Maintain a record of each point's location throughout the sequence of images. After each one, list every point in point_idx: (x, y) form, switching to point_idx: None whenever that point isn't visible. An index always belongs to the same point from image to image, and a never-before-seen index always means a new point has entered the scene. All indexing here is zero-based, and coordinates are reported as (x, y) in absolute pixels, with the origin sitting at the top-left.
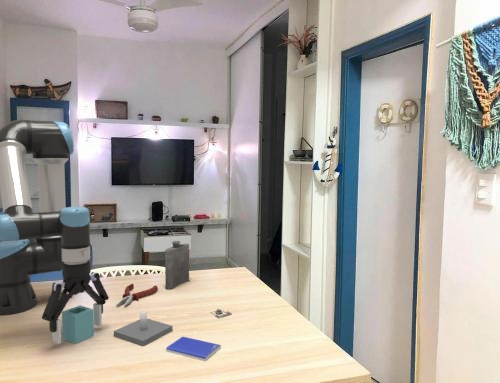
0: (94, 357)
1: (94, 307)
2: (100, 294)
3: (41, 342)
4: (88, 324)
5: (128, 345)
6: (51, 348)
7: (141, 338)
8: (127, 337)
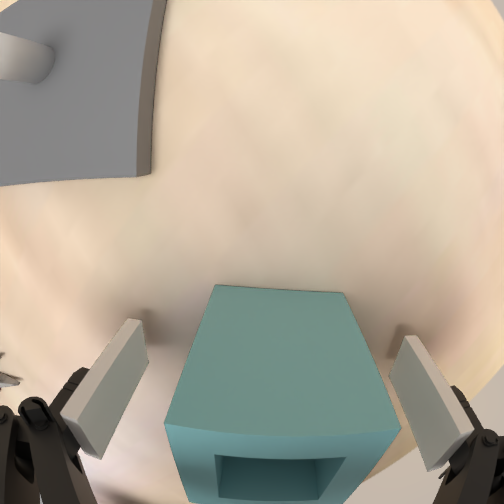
0: (411, 69)
1: (106, 434)
2: (28, 473)
3: None
4: (246, 340)
5: (203, 5)
6: None
7: None
8: (151, 43)
